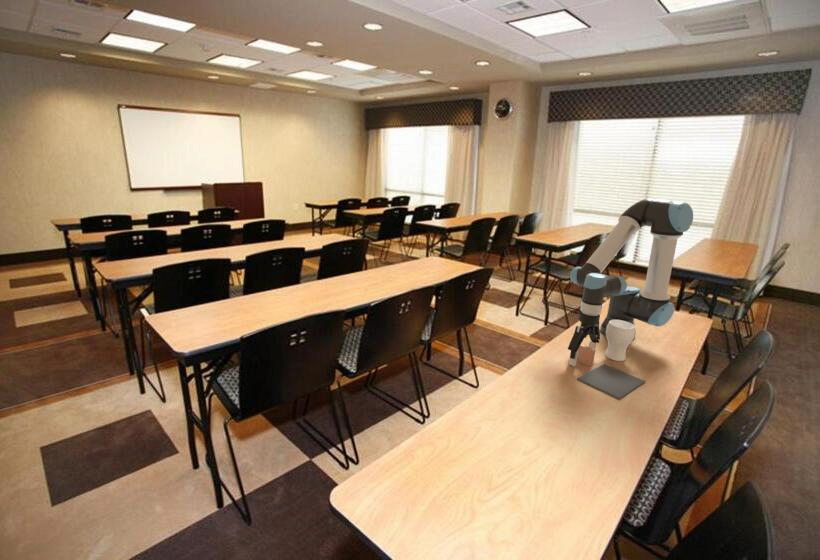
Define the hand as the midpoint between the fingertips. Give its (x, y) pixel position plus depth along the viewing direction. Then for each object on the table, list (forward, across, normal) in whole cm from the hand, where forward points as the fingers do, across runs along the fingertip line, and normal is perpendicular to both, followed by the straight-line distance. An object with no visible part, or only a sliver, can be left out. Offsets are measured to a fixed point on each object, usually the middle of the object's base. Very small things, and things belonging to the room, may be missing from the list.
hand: (581, 360), depth 166 cm
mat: (0, +5, +15) cm, 16 cm away
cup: (0, -16, +6) cm, 17 cm away
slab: (0, 0, 0) cm, 0 cm away
